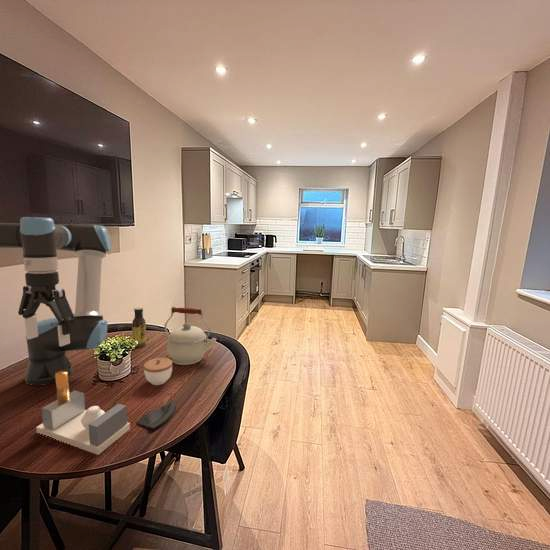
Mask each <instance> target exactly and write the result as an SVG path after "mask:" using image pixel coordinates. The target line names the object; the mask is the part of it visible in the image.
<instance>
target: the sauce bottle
mask: <svg viewBox="0 0 550 550" xmlns="http://www.w3.org/2000/svg"><path fill="white" fill-rule="evenodd" d="M133 310H134V318H133V319H132V325H131V328H132V330H131V331H132V338H133V337H134V338H135V339H136V340H137V341H138V345H137V347H136V348H142V347H144V346H145V347H146V345H147V344H146V343H147V334H146V333H147V330H146V329H147V328H146V327H147V323H146V319H145V318H144V315H143V314H144V313H143V311H144V308H143V307H136V308H134V309H133Z"/></svg>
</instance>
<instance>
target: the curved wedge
mask: <svg viewBox="0 0 550 550" xmlns="http://www.w3.org/2000/svg"><path fill="white" fill-rule="evenodd" d="M176 405H177V402H176V401H174V400H170V402H169V403H167V404H165V405H163V406H161V407H158V408H155V409H152V410H150V411H149V412H147V413H146V414H144V415H142V417H141V418H140V419H138V420H137V421H136V424H137V425H139V426H140V427H142V428H146V429H150V430H152V431H153V432H155V431H156V430H157V429H159V428H161V427H162V426H164V424H166V423H167V422H168V421H169V420H170V419H171V417H172V416H173V415H174V413H175V410H176Z"/></svg>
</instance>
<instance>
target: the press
mask: <svg viewBox="0 0 550 550" xmlns="http://www.w3.org/2000/svg"><path fill="white" fill-rule="evenodd" d="M86 411H87V409H85V410H84V411H83V412H81V413H80V414H78V415H76V416H75V417H73V418H72V419H70V420H68V421H67V422H65V423H64V424H62V425H60V426H59V427H57V428H56V429H54V430H52V429H49V428H46V427H44V426H43V422H42V423H41V424H39V425H38V426H36V427H35V428H36V434H38V433H40V434H39V435H41V434H43V435H42V436H44V435H46V436H45V437H47V436H49V437H52V438H54V439H53V440H55V439H56V440H55V441H58V440H59V441H58V442H61V441H62V442H61V443H63V442H64V444H66V443H67V445H69V444H70V446H73V447H75V448H77V447H78V448H77V449H80V450H83V451H86V452H89V453H90V454H91V453H92V454H94V455H97V456H98V455H101V454H102V453H103V452H104V451H105V450H106V449H108V448H109V447H110V446H111V445H113V444H114V443H115V442H116V441H117V440H119V439H120V438H122V436H124V435H125V434H126V433H127V432H128V431H130V430H131V423H130V422H128V413H127V405H124V404H121V403H117V404H116V405H115V406H113V407H111V408H110V409H108V410H107V411H106V412H105V413H104V414H103V415H101V416H100V417H98V418H97V419H95V420H94V421H92V422H91V423H90V424H88V425H89V431H88V430H87V429H86V428H85V427H84V426H83V424H82V423H81V419H82V417H83V416H84V415H85V413H86ZM49 437H48V438H49ZM52 438H51V439H52Z"/></svg>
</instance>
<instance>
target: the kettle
mask: <svg viewBox="0 0 550 550" xmlns="http://www.w3.org/2000/svg"><path fill="white" fill-rule="evenodd" d="M170 309H171V315H170V316H169V318H168V319H167V320H166V322H165V323H164V331H165V335H166V339H167V341H168V342H167V345H166V353H167V355H168V356H169V357H170V359H171V360H172V362H173V363H174V364H176V365H181V366H189V365H194V364H196V363H199V362H200V361H202V359H203V357H204V355H205V354H206V353H207V352H208V351H209V350H211V348H212V346H213V345H215V344H214V343H216V340H217V338H216V337H212V338H211V340H210V341H209V340H208V338H209V335H210V333H211V327H210V324H209V323H208V321H207V320H206V319H205V318H204V316H203V315H204V313H203V312H204V311H203V308H199V309H197V308H192V307H191V308H190V307H175V306H172V307H171V308H170ZM174 313H177V314H178V313H179V314H188V315H189V314H190V315H196V314H198V315H200V318H201V320H202V321H203V322H204V324H205V325H206V326H207V328H208V333H205V331H204V330H202V329H201V328H200V327H198V326H196V325H195V326H193V325H192V324H191V322H188V321H186V322H185V323H184V324H183V325H182V326H179V327H178V328H175V329H173V330H172V331H171V333H170V334H169V331H168V328H167V325H168V322H169V320H171V318H172V317H173V316H174Z"/></svg>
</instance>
